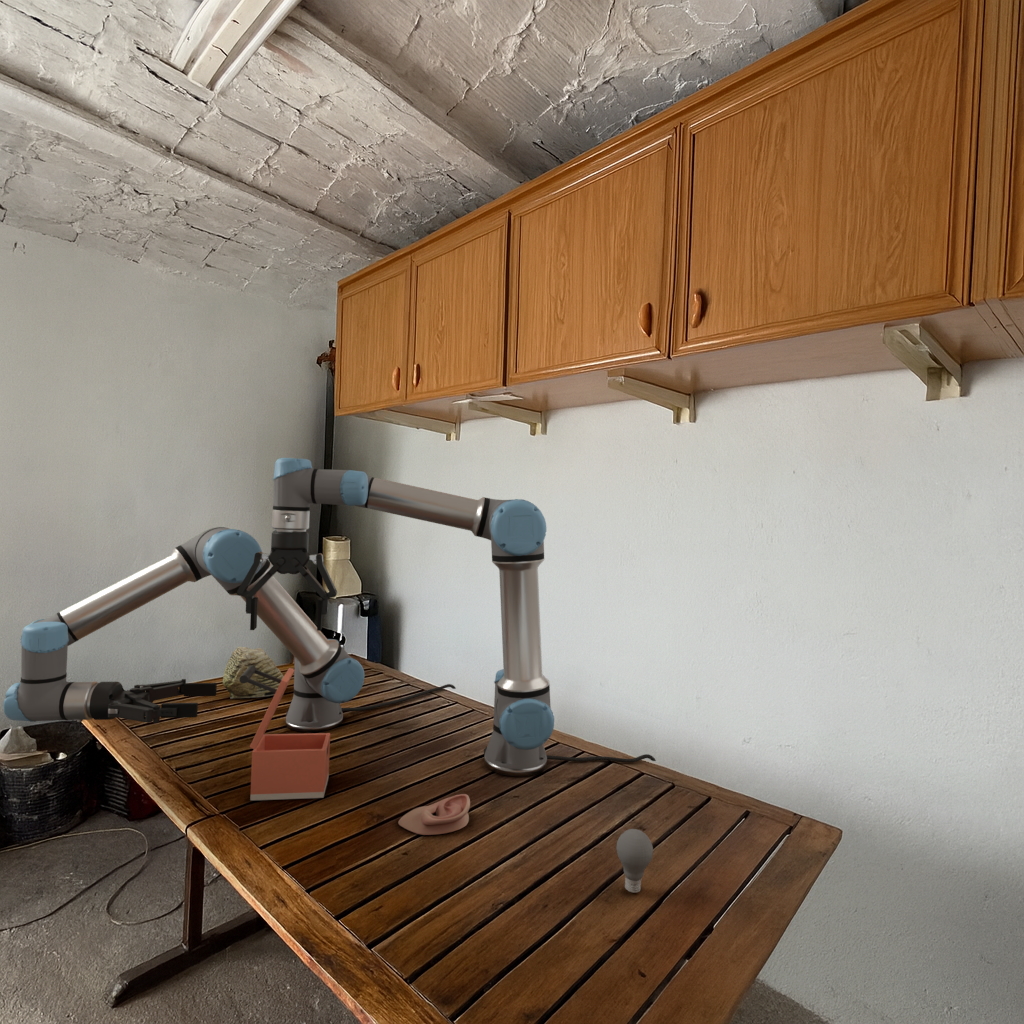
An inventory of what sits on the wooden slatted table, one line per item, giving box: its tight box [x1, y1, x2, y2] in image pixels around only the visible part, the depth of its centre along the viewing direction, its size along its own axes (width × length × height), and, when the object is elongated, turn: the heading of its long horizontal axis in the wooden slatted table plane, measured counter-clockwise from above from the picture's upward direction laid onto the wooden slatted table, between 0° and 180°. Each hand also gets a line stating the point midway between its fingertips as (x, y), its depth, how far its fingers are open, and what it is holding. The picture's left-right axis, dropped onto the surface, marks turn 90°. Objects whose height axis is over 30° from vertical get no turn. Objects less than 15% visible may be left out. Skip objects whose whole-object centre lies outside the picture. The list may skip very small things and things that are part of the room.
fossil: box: [222, 646, 285, 699], centre depth 198 cm, size 9×18×15 cm, turn 132°
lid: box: [239, 665, 295, 750], centre depth 135 cm, size 15×10×9 cm
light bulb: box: [615, 828, 654, 894], centre depth 106 cm, size 6×6×10 cm
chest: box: [249, 732, 331, 801], centre depth 137 cm, size 15×10×10 cm
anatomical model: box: [397, 793, 471, 836], centre depth 125 cm, size 13×4×12 cm
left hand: (207, 699), depth 133 cm, fingers open, 13 cm apart
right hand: (286, 629), depth 136 cm, fingers open, 13 cm apart
